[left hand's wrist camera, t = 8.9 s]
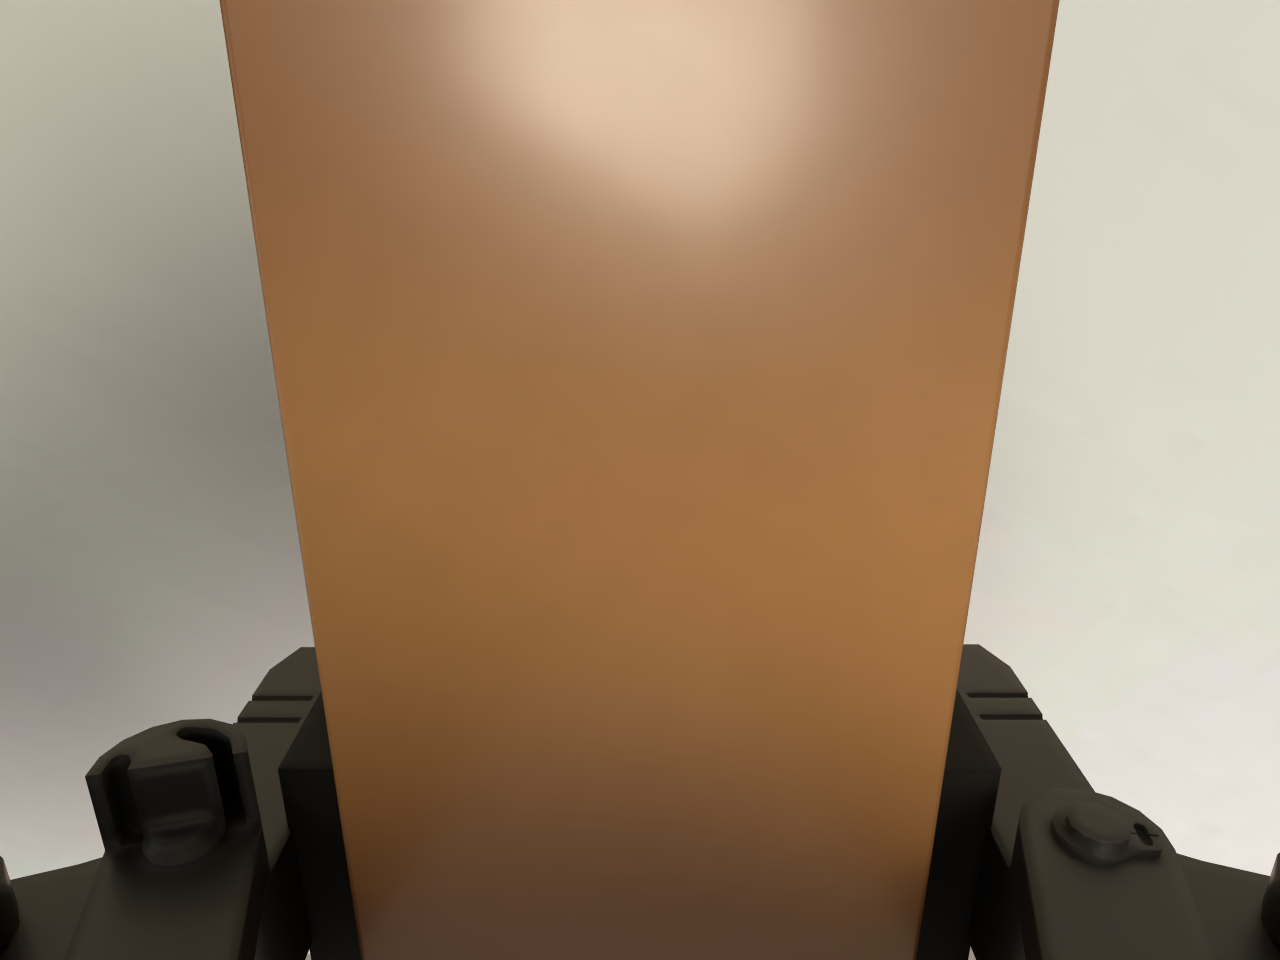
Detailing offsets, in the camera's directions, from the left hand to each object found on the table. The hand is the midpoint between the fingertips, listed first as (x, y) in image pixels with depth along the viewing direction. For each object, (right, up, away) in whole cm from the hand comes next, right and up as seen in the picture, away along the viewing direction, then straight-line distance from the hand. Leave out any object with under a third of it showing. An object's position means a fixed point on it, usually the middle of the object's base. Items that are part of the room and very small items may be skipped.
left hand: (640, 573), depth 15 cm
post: (0, +34, -13) cm, 37 cm away
